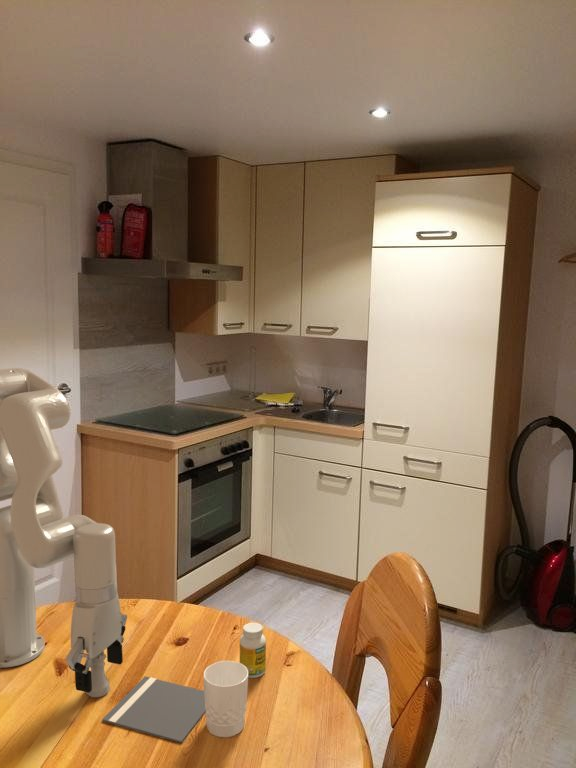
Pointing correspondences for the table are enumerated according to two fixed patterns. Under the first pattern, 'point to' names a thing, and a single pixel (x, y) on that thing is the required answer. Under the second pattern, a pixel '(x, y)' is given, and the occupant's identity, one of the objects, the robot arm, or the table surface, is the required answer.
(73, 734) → the table surface
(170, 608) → the table surface
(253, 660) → the supplement bottle
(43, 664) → the table surface
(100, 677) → the rook chess piece
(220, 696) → the white cup
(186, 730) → the mat
